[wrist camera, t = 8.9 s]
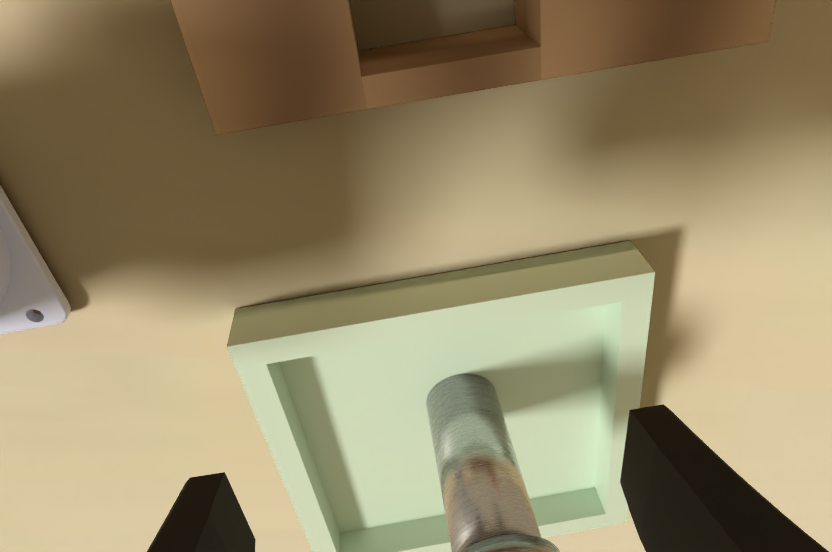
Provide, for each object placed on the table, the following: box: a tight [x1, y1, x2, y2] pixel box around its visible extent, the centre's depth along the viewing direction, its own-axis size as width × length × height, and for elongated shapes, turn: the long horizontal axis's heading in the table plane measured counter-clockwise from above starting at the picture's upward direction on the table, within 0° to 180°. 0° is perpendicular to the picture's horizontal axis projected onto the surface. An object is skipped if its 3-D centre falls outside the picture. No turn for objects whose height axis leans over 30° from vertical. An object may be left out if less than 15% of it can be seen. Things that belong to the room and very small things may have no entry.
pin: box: [426, 374, 560, 552], centre depth 21 cm, size 4×4×8 cm
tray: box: [227, 241, 655, 552], centre depth 24 cm, size 14×14×2 cm
